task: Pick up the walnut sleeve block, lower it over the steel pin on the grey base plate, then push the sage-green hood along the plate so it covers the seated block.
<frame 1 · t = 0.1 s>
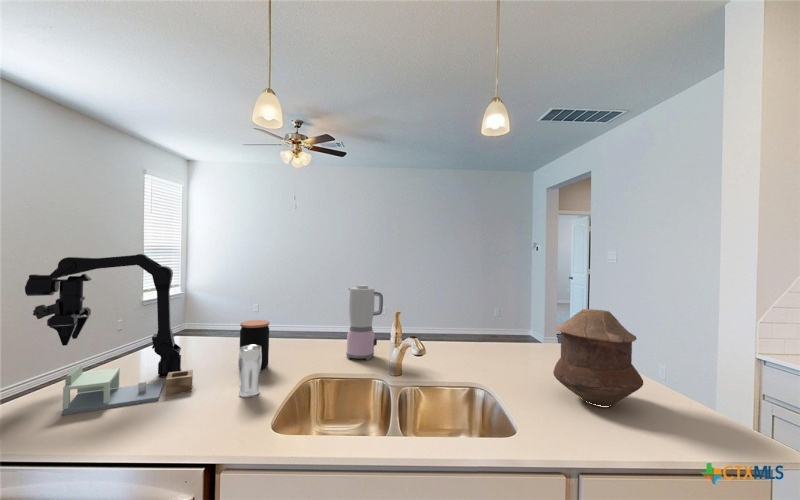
hand: (69, 341, 115), 15 cm above the worktop, fingers open, 9 cm apart
sleeve: (179, 389, 115), on the worktop
beer glass: (249, 394, 113), on the worktop
grey base plate: (118, 398, 107), on the worktop
pottery vessel: (594, 401, 115), on the worktop
hood: (93, 382, 104), point 6 cm above the worktop, slide at 0.0 cm
coffee jar: (253, 368, 137), on the worktop
blender: (363, 357, 155), on the worktop
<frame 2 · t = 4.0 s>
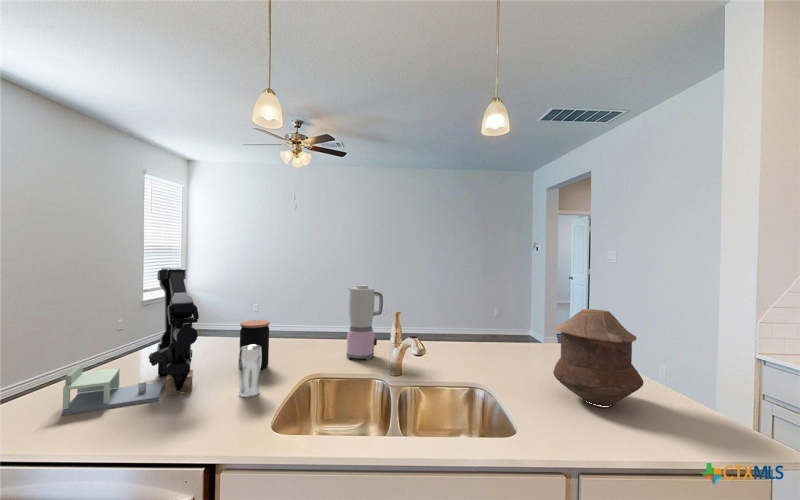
hand: (179, 386, 115), 1 cm above the worktop, fingers closed on sleeve, 7 cm apart
sleeve: (179, 389, 115), on the worktop, touching gripper
everything else where it was.
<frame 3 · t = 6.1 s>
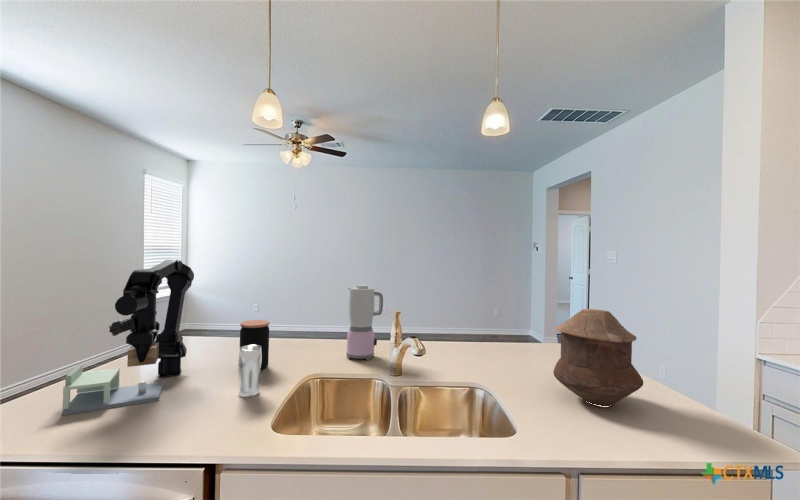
hand: (143, 358, 110), 11 cm above the worktop, fingers closed on sleeve, 7 cm apart
sleeve: (143, 362, 110), point 10 cm above the worktop, touching gripper
everything else where it was.
when the fingers open (3 cm above the worktop, at t = 8.4 s): sleeve drops 1 cm, resting on grey base plate.
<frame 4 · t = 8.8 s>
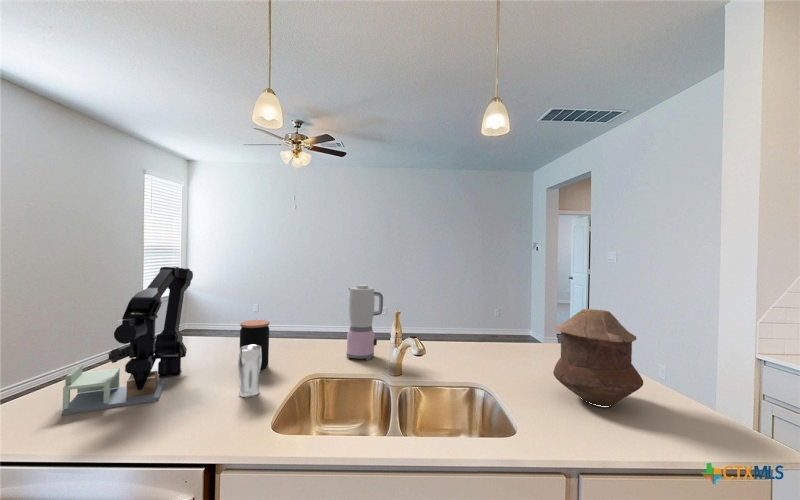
hand: (142, 384, 110), 3 cm above the worktop, fingers open, 9 cm apart
sleeve: (142, 391, 110), point 1 cm above the worktop, touching grey base plate
everything else where it was.
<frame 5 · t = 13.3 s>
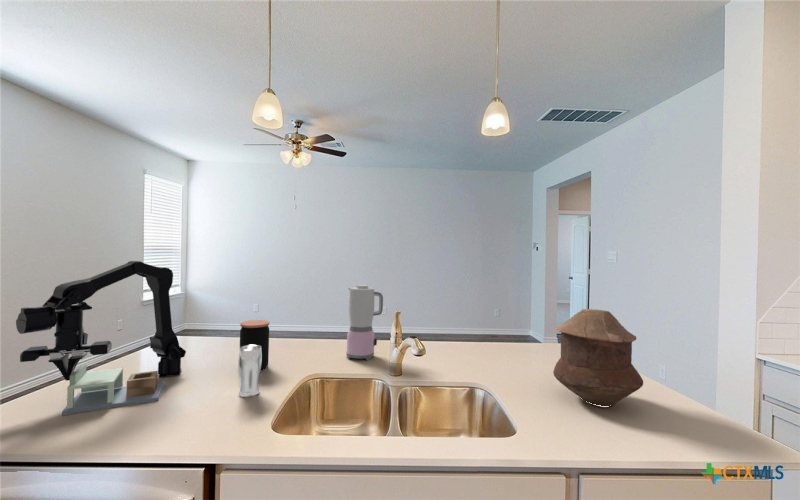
hand: (68, 380, 102), 7 cm above the worktop, fingers closed
hood: (97, 382, 105), point 6 cm above the worktop, slide at 0.9 cm, touching gripper
everything else where it was.
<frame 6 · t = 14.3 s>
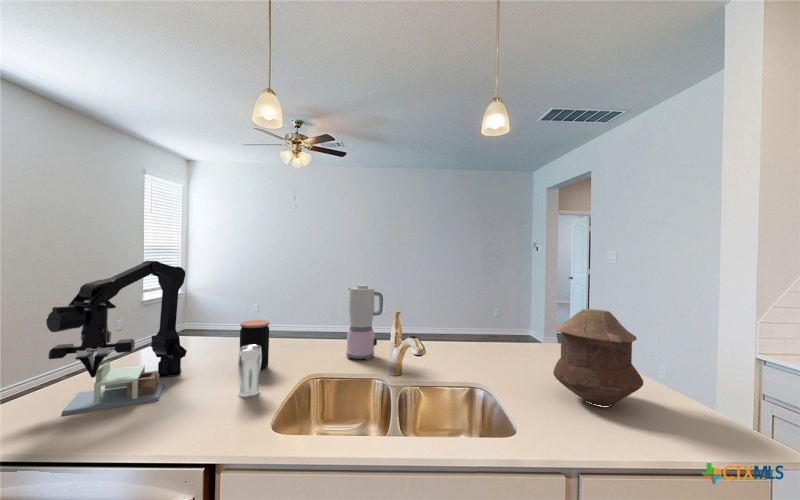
hand: (93, 377, 104), 7 cm above the worktop, fingers closed
hood: (121, 379, 108), point 6 cm above the worktop, slide at 6.6 cm, touching gripper
everything else where it was.
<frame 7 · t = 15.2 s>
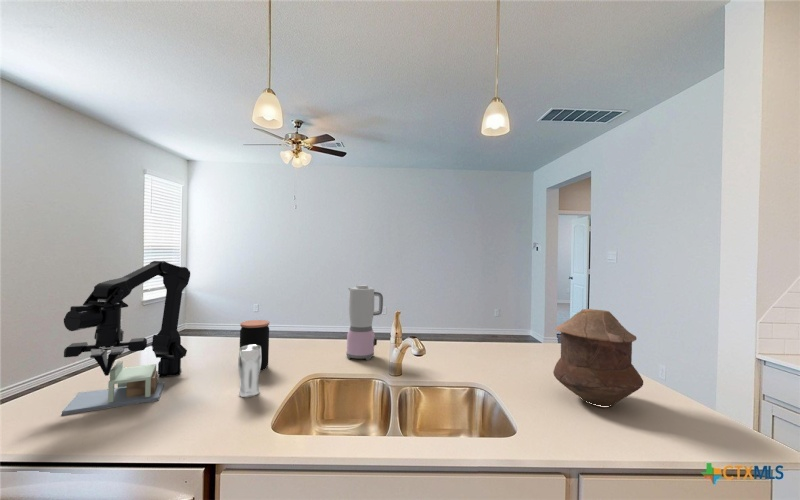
hand: (107, 375, 106), 7 cm above the worktop, fingers closed
hood: (134, 377, 109), point 6 cm above the worktop, slide at 9.8 cm, touching gripper
everything else where it was.
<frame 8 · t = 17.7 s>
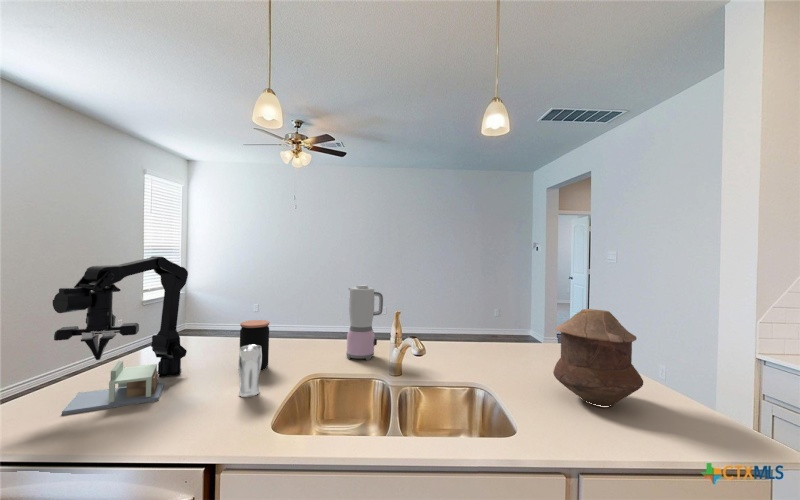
hand: (98, 359, 105), 12 cm above the worktop, fingers closed
hood: (134, 377, 109), point 6 cm above the worktop, slide at 9.9 cm
everything else where it was.
at the end: sleeve 0.1 cm from the target spot on the grey base plate, point 1.0 cm above the grey base plate's base; sleeve tilted 0°; hood slide at 9.9 cm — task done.
